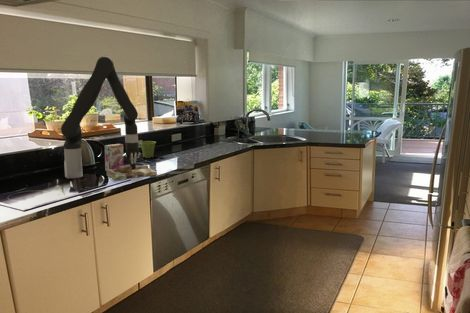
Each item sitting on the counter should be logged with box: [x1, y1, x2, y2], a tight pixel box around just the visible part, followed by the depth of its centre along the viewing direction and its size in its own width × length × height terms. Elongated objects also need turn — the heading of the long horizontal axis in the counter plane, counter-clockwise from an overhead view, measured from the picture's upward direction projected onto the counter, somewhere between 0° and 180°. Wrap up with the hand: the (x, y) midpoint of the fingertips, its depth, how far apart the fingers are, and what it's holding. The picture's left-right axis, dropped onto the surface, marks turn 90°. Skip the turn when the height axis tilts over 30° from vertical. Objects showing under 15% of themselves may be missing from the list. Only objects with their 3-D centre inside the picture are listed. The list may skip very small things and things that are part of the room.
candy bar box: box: [104, 143, 125, 172], centre depth 255 cm, size 11×5×16 cm, turn 141°
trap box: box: [106, 164, 158, 181], centre depth 243 cm, size 26×14×4 cm, turn 125°
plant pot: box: [139, 140, 157, 159], centre depth 299 cm, size 12×12×11 cm
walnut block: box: [119, 164, 132, 174], centre depth 242 cm, size 6×6×4 cm
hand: (133, 169), depth 245 cm, fingers closed
